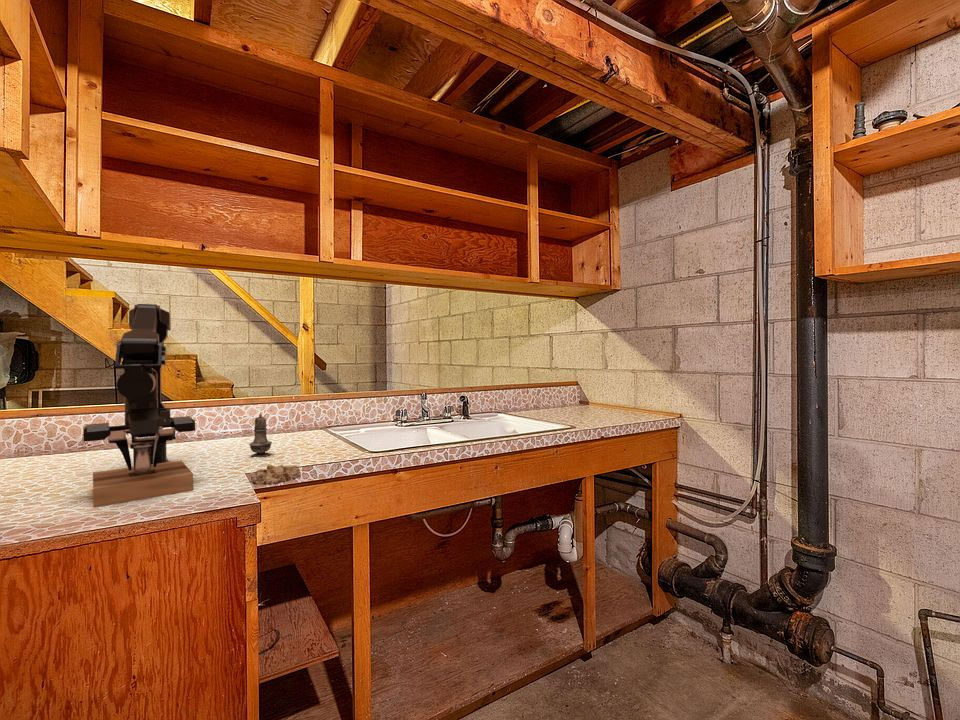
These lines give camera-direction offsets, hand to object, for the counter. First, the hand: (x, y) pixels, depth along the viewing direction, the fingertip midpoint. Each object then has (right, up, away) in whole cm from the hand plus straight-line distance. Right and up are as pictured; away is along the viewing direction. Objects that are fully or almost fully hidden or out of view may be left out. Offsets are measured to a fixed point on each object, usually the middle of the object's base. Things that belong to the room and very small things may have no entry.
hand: (142, 468), depth 96 cm
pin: (0, -5, 0) cm, 5 cm away
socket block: (0, -5, 0) cm, 4 cm away
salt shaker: (+10, -4, +31) cm, 33 cm away
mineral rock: (+25, -5, +7) cm, 27 cm away
